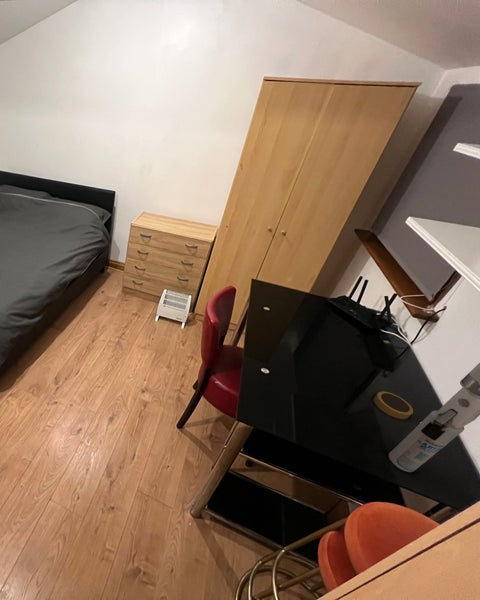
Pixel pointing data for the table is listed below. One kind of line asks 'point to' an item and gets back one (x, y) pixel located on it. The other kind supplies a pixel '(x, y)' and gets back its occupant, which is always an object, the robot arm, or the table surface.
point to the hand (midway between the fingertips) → (435, 431)
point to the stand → (393, 405)
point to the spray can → (421, 445)
